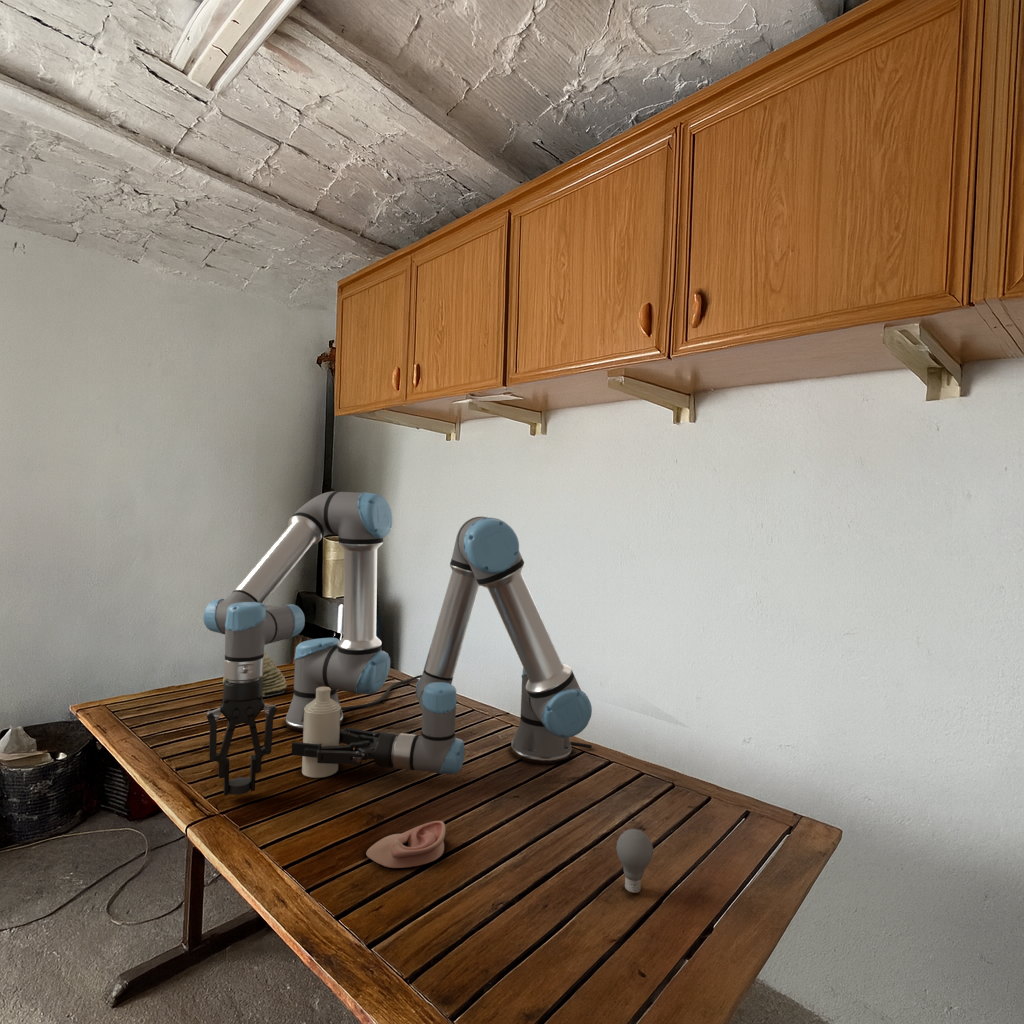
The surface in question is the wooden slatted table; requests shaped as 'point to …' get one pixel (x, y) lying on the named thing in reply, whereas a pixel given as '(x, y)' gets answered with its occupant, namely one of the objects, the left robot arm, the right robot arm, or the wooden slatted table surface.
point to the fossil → (271, 678)
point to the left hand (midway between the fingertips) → (239, 789)
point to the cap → (239, 785)
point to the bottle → (321, 731)
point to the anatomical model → (410, 846)
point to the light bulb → (634, 857)
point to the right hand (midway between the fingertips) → (301, 741)
